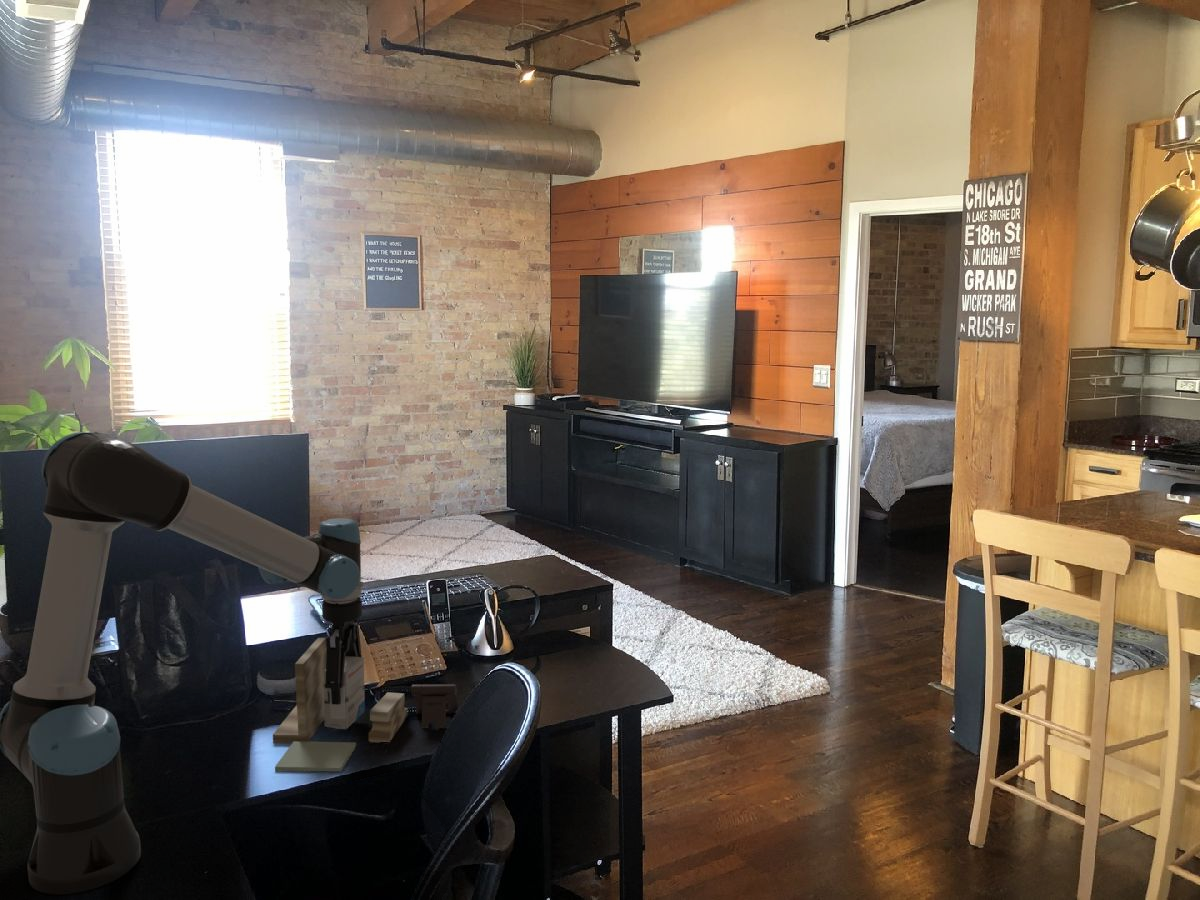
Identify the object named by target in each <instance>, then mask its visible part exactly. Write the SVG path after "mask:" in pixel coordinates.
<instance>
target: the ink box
mask: <svg viewBox="0 0 1200 900" xmlns="http://www.w3.org/2000/svg"><path fill="white" fill-rule="evenodd" d="M325 683H326V670H325V671H324V684H325ZM343 686H345V713H346V718H345V719H331V715H330V688H325V686H324V708H325V709H324V712H325V719H324V727H327V728H333V729H339V730H347V729H348V728H349V727H350V726H352V724H354V723H355V722H356V721H357V719H359V718H360V717H361V716H362V715H363V714H364V713H365V712H366V711H365V709H366V708H365V707H366V705H365V703H366V702H365V697H366V695H365V694H366V693H365V658H364V657H363V656H362V657H353V656H346V657H345V667H344V677H343Z"/></svg>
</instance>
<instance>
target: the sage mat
mask: <svg viewBox="0 0 1200 900" xmlns="http://www.w3.org/2000/svg"><path fill="white" fill-rule="evenodd" d="M355 747H356V748H357V742H355V741H354V742H347V741H346V742H344V741H343V742H342V741H340V742H339V741H334V742H333V741H308V742H298V741H294V742H293V743H290V746H289V747H288V748H287V750H286V751H285V753H284V754H283V755H282V757H281V758H280V759H279V760H278V761H277V763H276V764H275V766H274V772H310V771H340V772H339V773H341V772H342V771H343V769H344V768H343V767H345V766H346V764H347V763H346V762H348V761H349V759H350V758H349V757H351V755H353V753H354V751H355V750H356V748H355ZM352 752H353V753H352ZM347 760H348V761H347ZM344 765H345V766H344ZM341 770H342V771H341Z"/></svg>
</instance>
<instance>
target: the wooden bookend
mask: <svg viewBox="0 0 1200 900" xmlns="http://www.w3.org/2000/svg"><path fill="white" fill-rule="evenodd" d="M326 655H327V646H326V637H317V639H315V640H314V642H313V643H312V644H311V645H310V646H309V647H308V649H306V651H305V652H304V653H303V654H302V655H301V656H300V657H299V658H298V660H297V661H296V662H295V663H294V672H295V673H294V674H295V675H294V676H295V678H294V679H295V693H296V695H295V696H296V705H295V707H294V708H293V709H292V710H291V711H290V712H289V713H288V715H287V716H286V718H285V719H284V720H283V721H282V722H281V724H280V725H279V726H278V727H277V728H276V730H275V731H274V732H273V734H272V743H273V744H276V743H278V744H279V743H280V744H282V743H283V744H284V743H285V744H286V743H287V744H288V743H289V744H292V743H293V742H294V741H298V742H310V740H311V738H312V737H313V736H314V735H315V732H317V730H318V729H319V727H320V726H321V724H322V723H323V722H324V721H325V712H324V709H325V708H324V671H325V670H326Z"/></svg>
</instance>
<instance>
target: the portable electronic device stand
mask: <svg viewBox="0 0 1200 900" xmlns="http://www.w3.org/2000/svg"><path fill="white" fill-rule="evenodd" d="M410 688H411V689H410V694H411V696H413V698H414V706H415V707H414V708H415V713H416V715H420V714H422V715H421V724H420V725H421V726H420V727H421V728H422V727H424V728H425V727H428V728H429V727H430V726H429V725H430V723H437V728H438V727H441V726H442V727H445V728H446V719H447V717H446V716H447V715H453V714H452V713H455V711H456V710H457V709H458V708H459V709H460V702H459V701H458V691H457V684H456V683H451V684H450V683H447V684H446V683H443V684H441V683H439V684H433V683H432V684H431V683H429V684H428V683H427V684H412V685H411V687H410Z"/></svg>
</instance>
